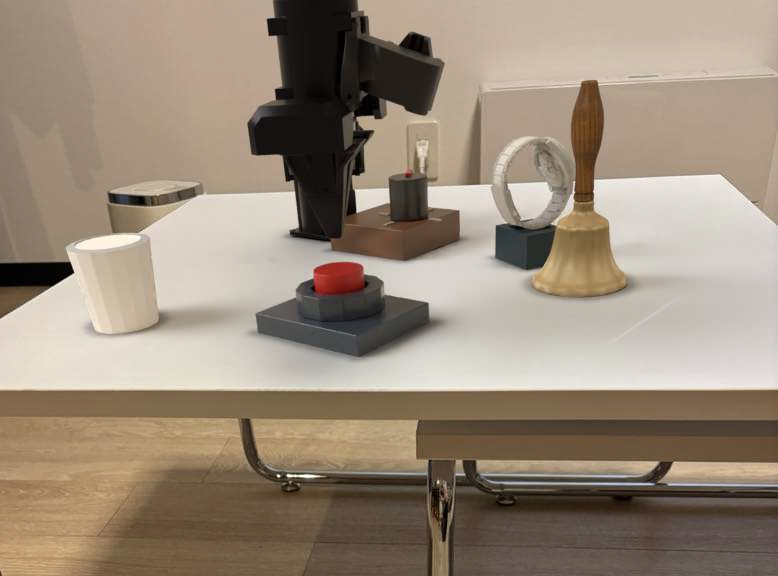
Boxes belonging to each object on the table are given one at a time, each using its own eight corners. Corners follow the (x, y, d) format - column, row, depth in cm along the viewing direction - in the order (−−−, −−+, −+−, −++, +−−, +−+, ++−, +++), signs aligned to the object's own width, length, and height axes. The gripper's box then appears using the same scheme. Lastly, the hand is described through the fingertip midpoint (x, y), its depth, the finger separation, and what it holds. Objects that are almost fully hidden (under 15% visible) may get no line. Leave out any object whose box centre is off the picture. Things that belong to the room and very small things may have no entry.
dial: (426, 220, 85) (425, 175, 82) (388, 222, 85) (385, 177, 83) (430, 212, 88) (429, 168, 86) (393, 213, 89) (390, 170, 86)
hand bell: (571, 304, 69) (585, 88, 60) (513, 282, 75) (518, 83, 67) (647, 285, 72) (671, 76, 63) (585, 265, 78) (599, 73, 70)
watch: (580, 258, 80) (589, 134, 74) (510, 273, 78) (513, 145, 72) (547, 247, 85) (553, 128, 79) (479, 260, 82) (480, 139, 76)
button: (304, 293, 66) (302, 271, 65) (338, 280, 68) (336, 259, 67) (342, 301, 64) (340, 278, 63) (375, 287, 66) (373, 265, 65)
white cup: (125, 340, 68) (104, 254, 65) (70, 330, 72) (47, 248, 68) (182, 315, 73) (166, 234, 69) (127, 307, 76) (109, 228, 73)
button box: (257, 333, 68) (251, 290, 66) (330, 303, 74) (326, 263, 72) (358, 357, 62) (355, 311, 60) (429, 322, 67) (428, 279, 65)
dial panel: (331, 250, 89) (328, 220, 88) (388, 230, 96) (387, 201, 94) (412, 262, 83) (411, 230, 81) (468, 240, 89) (468, 209, 88)
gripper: (417, -13, 46) (425, 269, 55) (447, -13, 61) (450, 207, 70) (228, 2, 48) (264, 272, 57) (303, -2, 63) (323, 211, 72)
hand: (335, 237), depth 64 cm, fingers closed
